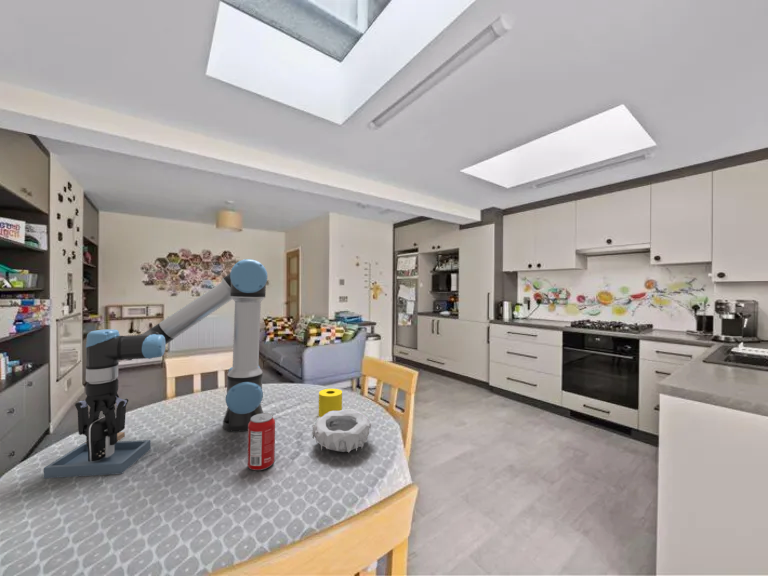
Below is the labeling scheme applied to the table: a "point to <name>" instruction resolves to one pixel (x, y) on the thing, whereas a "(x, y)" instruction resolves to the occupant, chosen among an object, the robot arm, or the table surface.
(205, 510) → the table surface
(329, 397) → the tape roll
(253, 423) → the soda can
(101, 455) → the battery charger
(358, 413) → the bowl
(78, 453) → the parts tray
